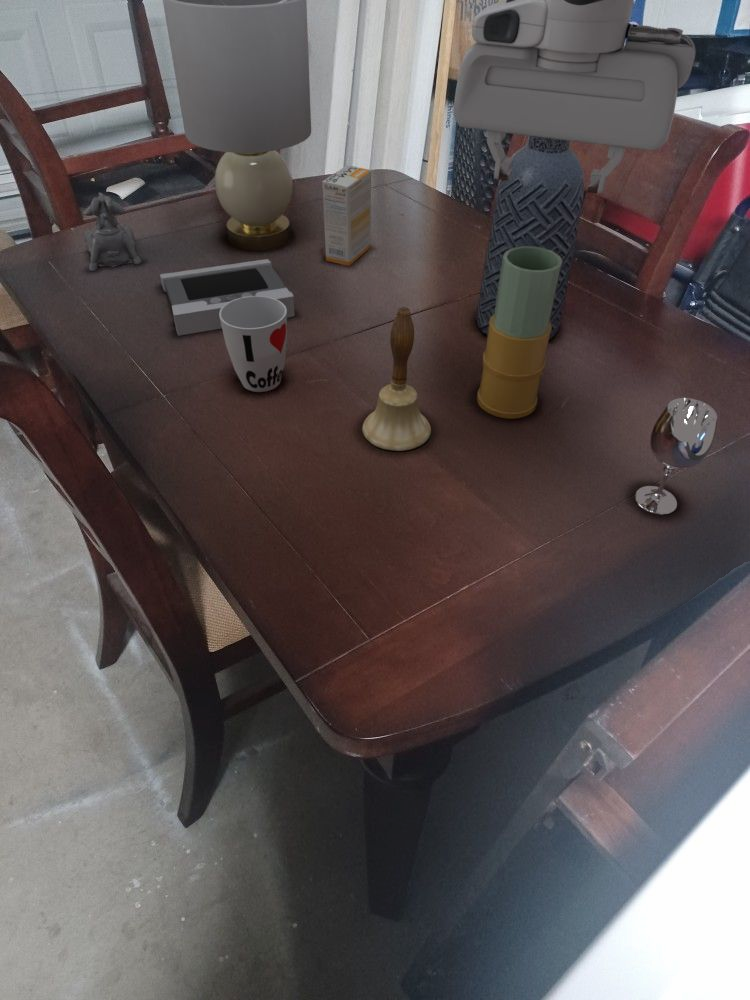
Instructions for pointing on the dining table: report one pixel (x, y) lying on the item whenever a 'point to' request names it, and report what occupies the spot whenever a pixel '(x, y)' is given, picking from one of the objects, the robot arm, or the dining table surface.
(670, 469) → the wineglass
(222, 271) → the alarm clock
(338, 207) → the supplement box
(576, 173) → the vase
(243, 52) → the lamp
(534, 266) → the sage cup
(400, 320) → the hand bell
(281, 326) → the cup
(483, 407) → the cup stack
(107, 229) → the figurine
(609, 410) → the dining table surface
